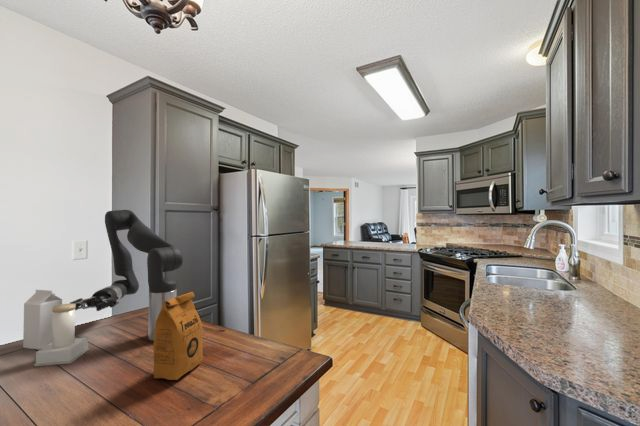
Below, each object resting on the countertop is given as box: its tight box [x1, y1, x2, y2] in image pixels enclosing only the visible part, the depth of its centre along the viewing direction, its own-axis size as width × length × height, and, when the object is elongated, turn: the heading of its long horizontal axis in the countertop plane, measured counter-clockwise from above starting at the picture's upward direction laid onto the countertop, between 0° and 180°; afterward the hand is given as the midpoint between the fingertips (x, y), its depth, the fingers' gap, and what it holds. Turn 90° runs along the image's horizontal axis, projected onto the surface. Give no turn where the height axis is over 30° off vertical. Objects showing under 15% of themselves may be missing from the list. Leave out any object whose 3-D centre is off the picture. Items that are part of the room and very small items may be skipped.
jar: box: [52, 303, 76, 348], centre depth 93 cm, size 6×6×12 cm
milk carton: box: [22, 289, 63, 350], centre depth 102 cm, size 7×7×19 cm
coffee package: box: [152, 291, 204, 381], centre depth 85 cm, size 10×12×22 cm
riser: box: [33, 337, 90, 367], centre depth 93 cm, size 10×10×4 cm
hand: (84, 308), depth 104 cm, fingers open, 8 cm apart
